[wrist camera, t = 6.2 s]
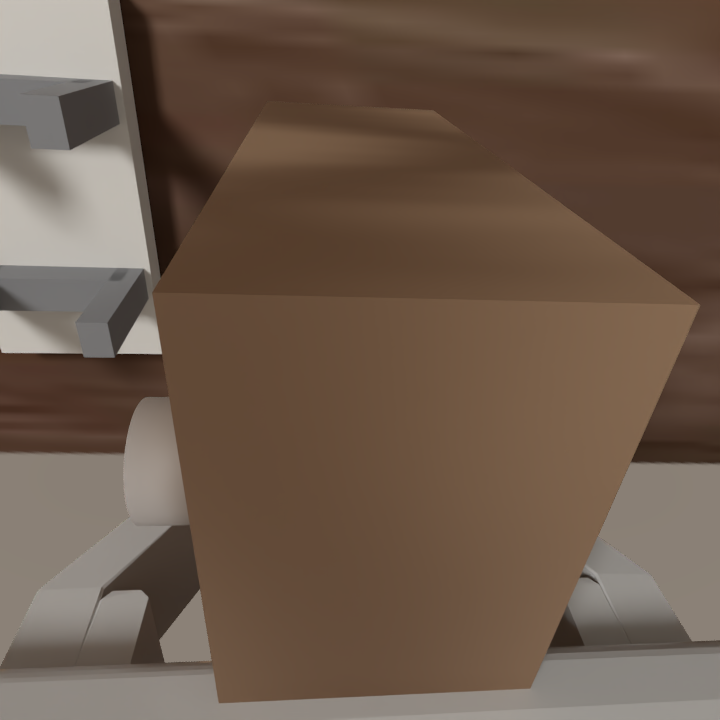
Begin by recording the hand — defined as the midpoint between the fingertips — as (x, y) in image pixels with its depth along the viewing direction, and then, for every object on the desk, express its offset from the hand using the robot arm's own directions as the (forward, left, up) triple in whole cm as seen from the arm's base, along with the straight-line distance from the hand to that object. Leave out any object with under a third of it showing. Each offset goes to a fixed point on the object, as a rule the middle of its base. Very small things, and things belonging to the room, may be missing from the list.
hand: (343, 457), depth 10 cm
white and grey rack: (+12, 0, -18) cm, 22 cm away
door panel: (0, 0, -3) cm, 3 cm away
